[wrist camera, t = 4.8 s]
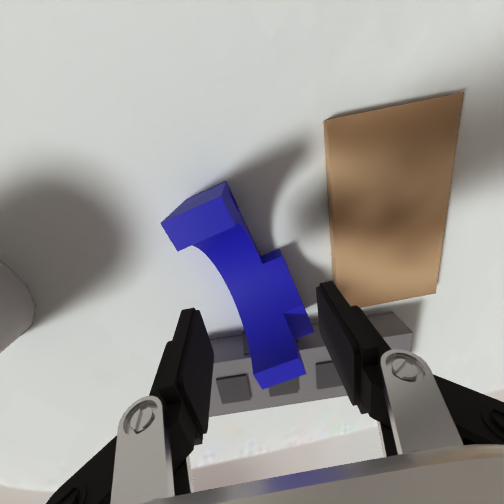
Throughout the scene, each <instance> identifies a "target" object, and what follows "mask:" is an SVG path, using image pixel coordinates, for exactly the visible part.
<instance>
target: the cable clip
mask: <svg viewBox="0 0 504 504" xmlns="http://www.w3.org/2000/svg"><path fill="white" fill-rule="evenodd" d="M161 225H162V227H163V228H164V230H165V232H166V233H167V235H168V237H169V238H170V240H171V241H172V243H173V245H174V246H175V248H176V250H177V251H180V250H182V249H184V248H187V247H189V246H191V245H193V246H195V247H197V248H199V249H200V250H201V251H203V252H204V253H205V254H206V255H207V256H208V257H209V259H210V260H211V261H212V262H213V264H214V265H215V266H216V268H217V269H218V271H219V272H220V274H221V276H222V277H223V279H224V281H225V283H226V285H227V287H228V289H229V291H230V293H231V295H232V297H233V299H234V302H235V304H236V307H237V309H238V312H239V315H240V317H241V320H242V324H243V327H244V330H245V334H246V337H247V341H248V346H249V350H250V356H251V362H252V369H253V375H254V377H255V379H256V380H257V382H258V384H259V385H260V387H261V388H262V390H263V389H266V388H269V387H271V386H274V385H277V384H280V383H283V382H285V381H288V380H291V379H294V378H297V377H299V376H302V375H305V374H306V371H305V367H304V364H303V361H302V358H301V355H300V352H299V349H298V345H297V342H296V339H298V338H300V337H303V336H306V335H308V334H311V333H314V329H313V327H312V325H311V322H310V320H309V317H308V315H307V313H306V310H305V308H304V305H303V303H302V301H301V298H300V296H299V294H298V291H297V289H296V287H295V284H294V282H293V280H292V277H291V275H290V272H289V270H288V268H287V265H286V263H285V261H284V258H283V256H282V254H281V251H280V249H278V250H275V251H273V252H270V253H268V254H266V255H263V256H260V254H259V251H258V249H257V247H256V245H255V243H254V240H253V238H252V236H251V234H250V232H249V230H248V227H247V225H246V223H245V221H244V219H243V217H242V214H241V212H240V210H239V208H238V206H237V204H236V201H235V199H234V197H233V195H232V193H231V191H230V188H229V186H228V184H227V182H226V181H225V182H223V183H221V184H219V185H217V186H214V187H212V188H210V189H208V190H206V191H204V192H201V193H199V194H197V195H195V196H193V197H191V198H188V199H186V200H185V201H184V202H183V203H182V204H181V205H180V206H178V207H177V208H176V209H175V210H174V211H173V212H172V213H171V214H170V215H169V216H168V217H167V218H166V219H165V220H163V221H162V222H161Z"/></svg>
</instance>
